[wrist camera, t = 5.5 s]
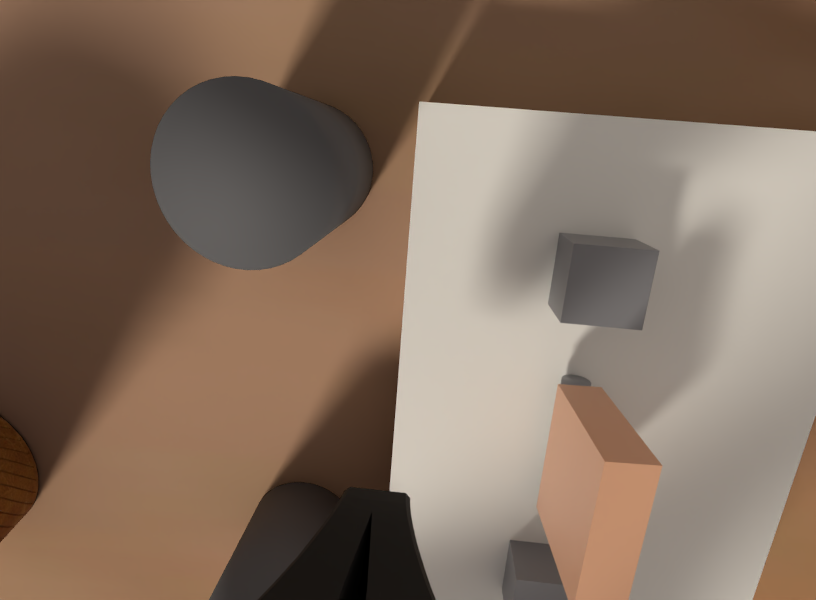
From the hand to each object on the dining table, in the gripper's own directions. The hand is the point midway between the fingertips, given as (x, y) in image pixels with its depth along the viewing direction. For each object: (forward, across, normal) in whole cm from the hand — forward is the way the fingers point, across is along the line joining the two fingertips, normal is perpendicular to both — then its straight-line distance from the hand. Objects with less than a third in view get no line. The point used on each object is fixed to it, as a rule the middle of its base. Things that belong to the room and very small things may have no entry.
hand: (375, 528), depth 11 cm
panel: (+8, -5, 0) cm, 9 cm away
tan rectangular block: (+4, -5, 0) cm, 7 cm away
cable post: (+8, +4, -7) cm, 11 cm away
